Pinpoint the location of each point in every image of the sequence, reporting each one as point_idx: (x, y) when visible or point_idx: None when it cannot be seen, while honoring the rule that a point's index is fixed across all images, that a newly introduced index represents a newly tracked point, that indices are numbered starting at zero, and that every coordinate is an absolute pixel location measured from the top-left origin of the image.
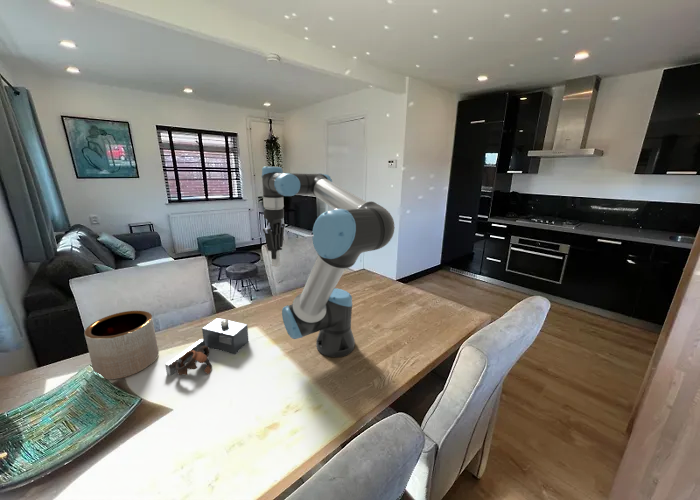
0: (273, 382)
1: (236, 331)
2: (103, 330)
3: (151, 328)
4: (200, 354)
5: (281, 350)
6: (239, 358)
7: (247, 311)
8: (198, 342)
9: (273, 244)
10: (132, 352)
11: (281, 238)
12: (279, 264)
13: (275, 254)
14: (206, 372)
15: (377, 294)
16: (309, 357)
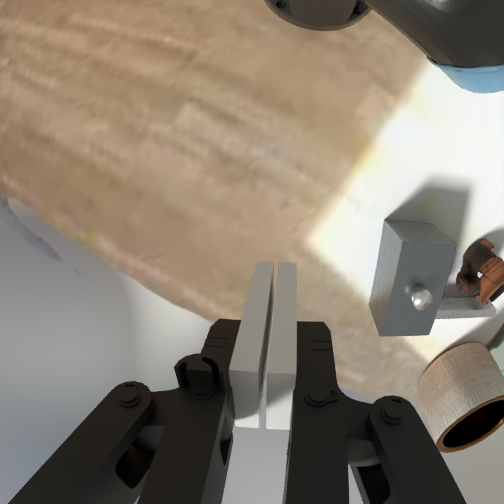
0: (484, 96)
1: (439, 249)
2: (460, 432)
3: (473, 392)
4: (494, 274)
5: (393, 114)
6: (442, 205)
7: (239, 307)
8: (438, 314)
9: (415, 491)
10: (496, 368)
11: (79, 493)
12: (263, 267)
13: (308, 359)
14: (490, 242)
15: (22, 21)
16: (393, 35)
